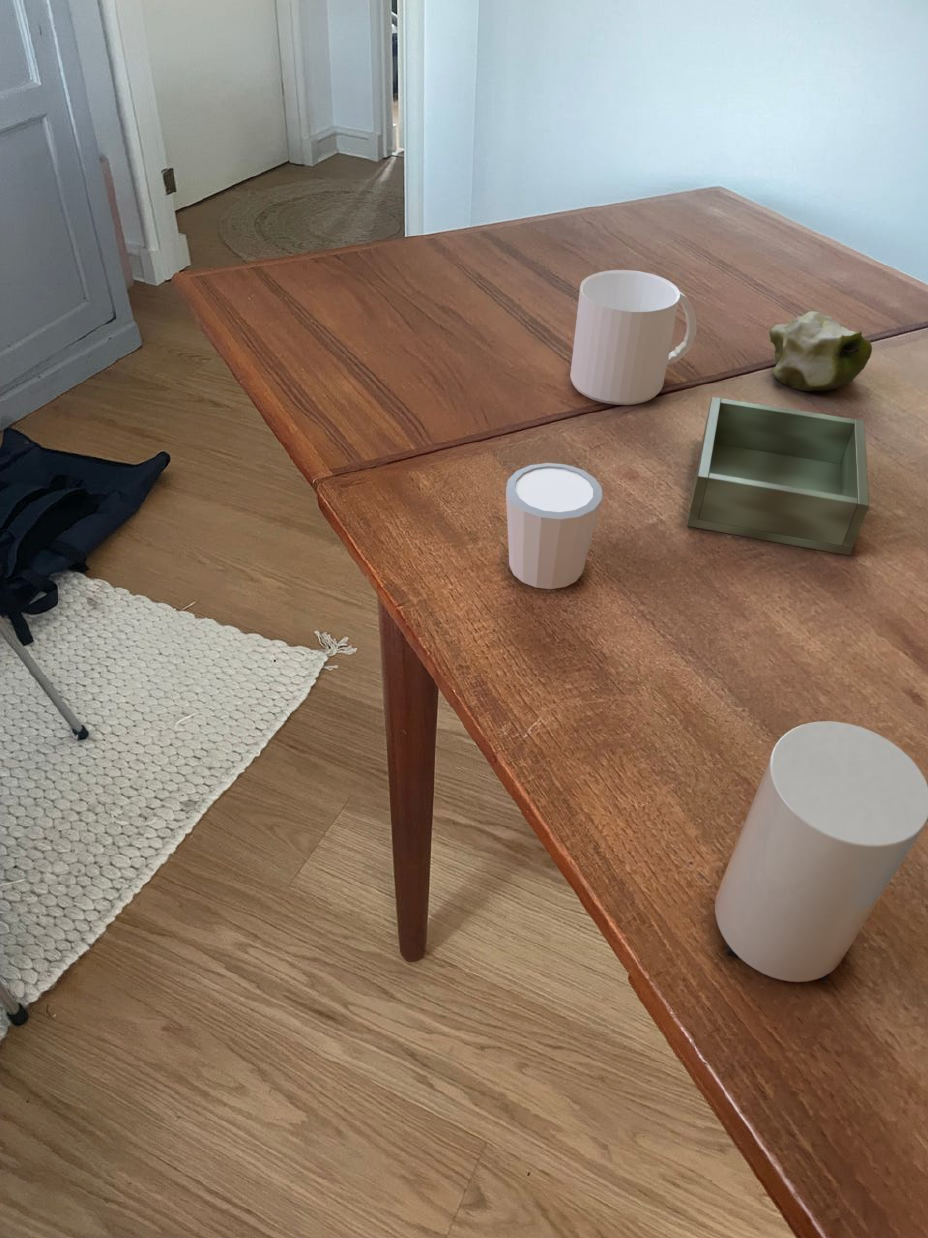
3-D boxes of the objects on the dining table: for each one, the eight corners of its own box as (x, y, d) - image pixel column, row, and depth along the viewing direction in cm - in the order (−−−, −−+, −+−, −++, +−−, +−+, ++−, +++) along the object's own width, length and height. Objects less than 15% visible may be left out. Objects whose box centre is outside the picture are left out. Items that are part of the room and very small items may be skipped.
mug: (579, 407, 88) (591, 313, 81) (562, 361, 94) (571, 270, 88) (703, 403, 89) (724, 309, 82) (677, 358, 95) (695, 268, 89)
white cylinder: (736, 844, 52) (792, 700, 44) (859, 898, 50) (943, 756, 42) (697, 943, 48) (751, 803, 40) (831, 1007, 46) (917, 872, 37)
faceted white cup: (562, 527, 74) (571, 452, 69) (609, 579, 70) (622, 502, 65) (485, 550, 72) (488, 474, 67) (528, 605, 67) (535, 527, 63)
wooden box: (847, 468, 81) (864, 420, 78) (849, 556, 72) (869, 505, 69) (701, 444, 84) (711, 396, 80) (686, 526, 75) (697, 475, 71)
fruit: (863, 416, 90) (884, 347, 84) (762, 411, 92) (776, 343, 86) (857, 355, 96) (876, 286, 89) (762, 353, 97) (775, 284, 91)
